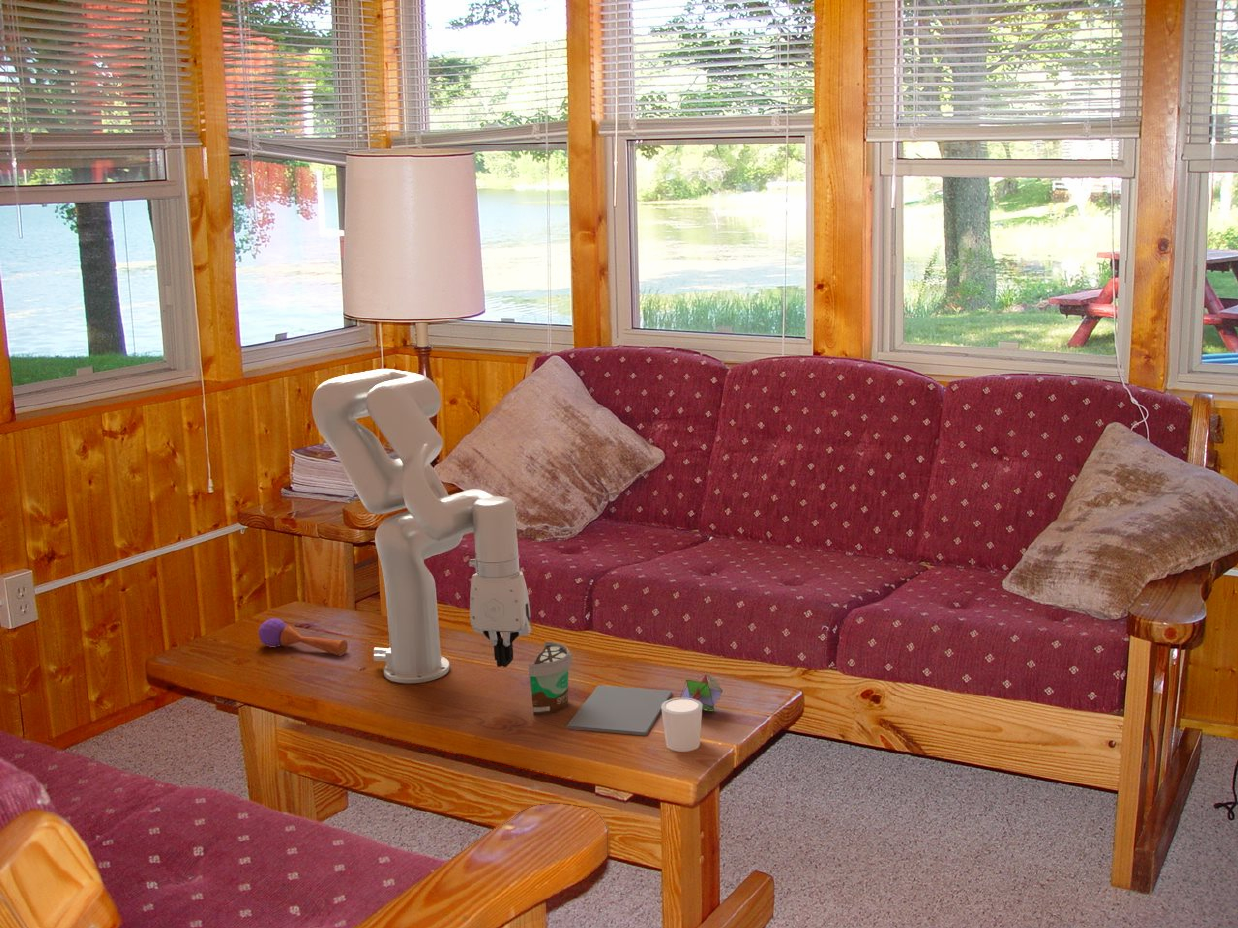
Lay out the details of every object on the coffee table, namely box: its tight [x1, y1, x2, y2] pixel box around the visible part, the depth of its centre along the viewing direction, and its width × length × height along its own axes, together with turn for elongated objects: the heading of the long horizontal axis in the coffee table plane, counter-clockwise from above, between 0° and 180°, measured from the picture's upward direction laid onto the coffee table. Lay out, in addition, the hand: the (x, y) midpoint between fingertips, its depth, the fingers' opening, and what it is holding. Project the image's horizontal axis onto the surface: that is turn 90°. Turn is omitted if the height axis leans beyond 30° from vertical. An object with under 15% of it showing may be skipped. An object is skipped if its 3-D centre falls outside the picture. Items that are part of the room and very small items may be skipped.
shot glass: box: [661, 697, 703, 753], centre depth 219 cm, size 7×7×7 cm
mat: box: [566, 684, 673, 737], centre depth 234 cm, size 14×18×1 cm
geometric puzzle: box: [679, 673, 724, 715], centre depth 232 cm, size 7×7×8 cm
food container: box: [528, 640, 573, 717], centre depth 237 cm, size 12×6×10 cm, turn 168°
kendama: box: [258, 617, 348, 656], centre depth 270 cm, size 6×6×20 cm
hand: (504, 664), depth 239 cm, fingers closed
